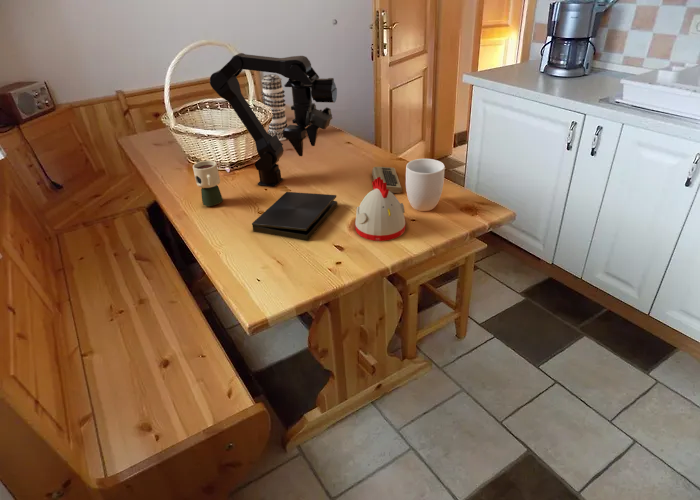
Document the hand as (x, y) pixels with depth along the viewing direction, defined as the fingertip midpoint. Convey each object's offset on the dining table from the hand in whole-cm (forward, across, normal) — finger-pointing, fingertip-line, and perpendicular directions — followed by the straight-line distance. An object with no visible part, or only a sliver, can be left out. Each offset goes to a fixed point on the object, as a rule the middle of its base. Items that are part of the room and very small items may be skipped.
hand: (307, 150), depth 151 cm
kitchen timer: (+12, -20, -31) cm, 39 cm away
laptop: (+12, -22, -6) cm, 26 cm away
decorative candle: (+12, +39, +33) cm, 53 cm away
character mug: (+12, -21, +24) cm, 34 cm away
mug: (+12, -3, -39) cm, 41 cm away
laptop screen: (+10, -22, -6) cm, 25 cm away
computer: (+12, +8, -24) cm, 28 cm away
